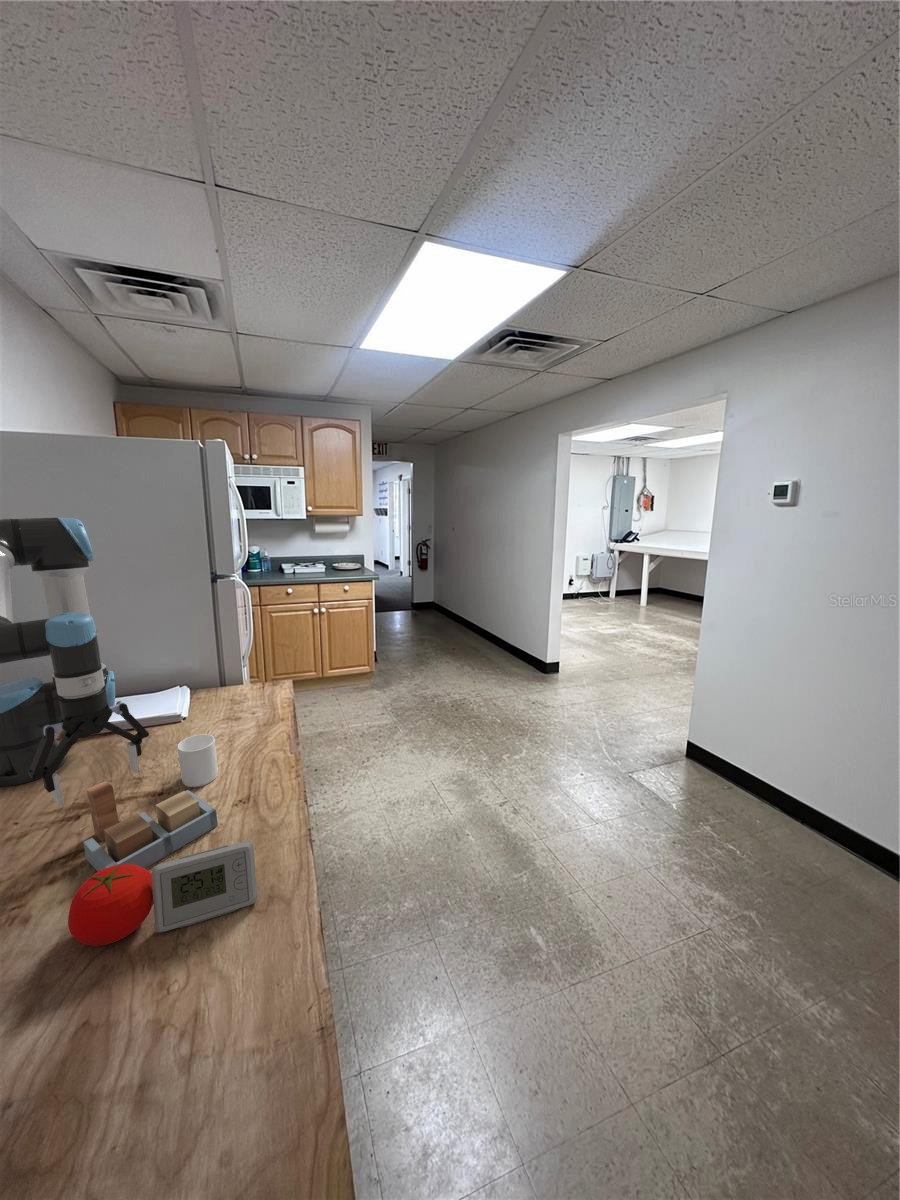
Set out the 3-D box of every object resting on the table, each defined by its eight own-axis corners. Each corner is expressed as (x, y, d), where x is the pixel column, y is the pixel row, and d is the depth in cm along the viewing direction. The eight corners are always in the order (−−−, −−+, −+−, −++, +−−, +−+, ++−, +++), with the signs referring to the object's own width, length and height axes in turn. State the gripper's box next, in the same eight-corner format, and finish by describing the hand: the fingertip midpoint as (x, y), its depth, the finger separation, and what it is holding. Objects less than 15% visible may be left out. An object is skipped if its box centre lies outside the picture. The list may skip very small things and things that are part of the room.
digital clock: (150, 939, 78) (141, 886, 76) (169, 894, 87) (162, 845, 84) (254, 921, 82) (249, 870, 79) (262, 880, 90) (258, 832, 88)
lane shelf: (86, 858, 94) (83, 842, 93) (189, 804, 111) (187, 789, 110) (111, 887, 88) (108, 869, 87) (217, 825, 104) (216, 809, 103)
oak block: (159, 833, 102) (155, 805, 100) (187, 817, 106) (184, 790, 105) (173, 845, 98) (169, 816, 97) (201, 828, 103) (198, 800, 102)
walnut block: (88, 837, 100) (79, 792, 97) (119, 821, 105) (112, 778, 102) (122, 874, 91) (113, 825, 88) (155, 855, 96) (148, 808, 93)
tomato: (84, 912, 83) (74, 862, 80) (164, 890, 87) (157, 842, 85) (62, 971, 73) (50, 916, 70) (154, 943, 77) (145, 890, 75)
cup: (182, 791, 115) (177, 754, 113) (181, 766, 125) (177, 732, 123) (219, 781, 119) (215, 746, 117) (216, 758, 129) (212, 725, 127)
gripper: (4, 720, 82) (28, 826, 86) (158, 676, 102) (170, 764, 106) (-8, 709, 86) (15, 811, 90) (142, 669, 106) (154, 753, 110)
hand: (99, 786), depth 98 cm, fingers open, 13 cm apart
